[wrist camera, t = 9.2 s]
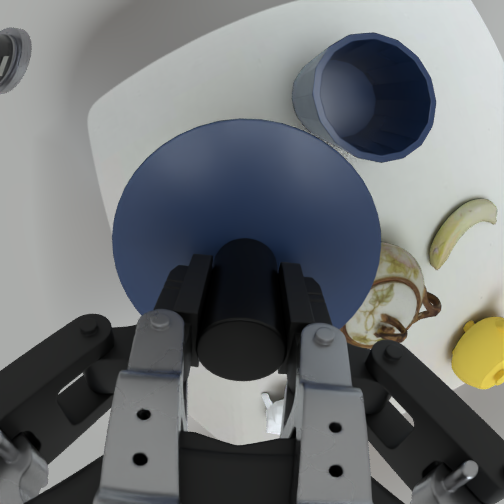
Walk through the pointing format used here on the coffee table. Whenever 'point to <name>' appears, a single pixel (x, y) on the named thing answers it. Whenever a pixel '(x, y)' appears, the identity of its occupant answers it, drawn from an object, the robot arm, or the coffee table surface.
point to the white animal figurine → (273, 414)
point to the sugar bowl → (391, 301)
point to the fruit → (460, 228)
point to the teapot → (481, 353)
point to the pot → (366, 97)
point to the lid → (247, 233)
